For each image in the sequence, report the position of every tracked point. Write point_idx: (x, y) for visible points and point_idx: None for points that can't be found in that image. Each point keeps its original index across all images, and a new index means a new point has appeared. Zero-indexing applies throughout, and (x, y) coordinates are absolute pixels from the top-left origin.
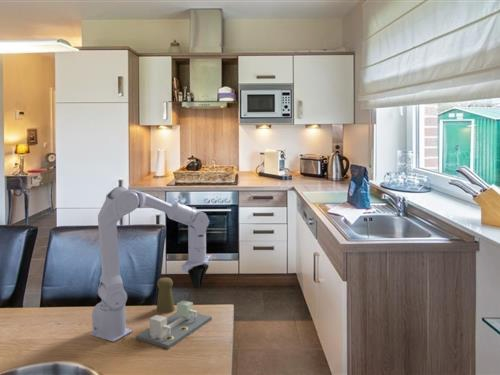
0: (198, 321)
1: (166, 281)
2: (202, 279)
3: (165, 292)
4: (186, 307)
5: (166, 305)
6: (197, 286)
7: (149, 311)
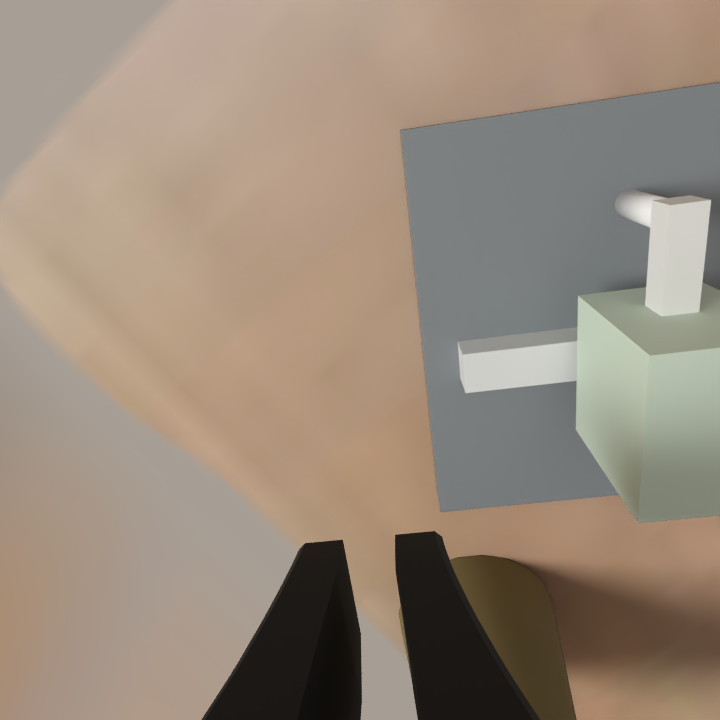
0: (602, 170)
1: None
2: (290, 671)
3: None
4: None
5: (540, 630)
6: (451, 570)
7: (570, 672)
